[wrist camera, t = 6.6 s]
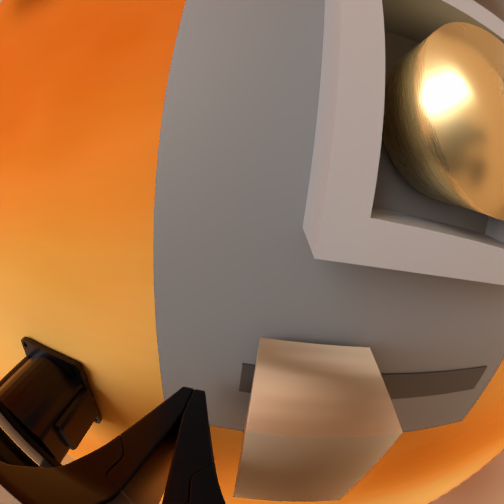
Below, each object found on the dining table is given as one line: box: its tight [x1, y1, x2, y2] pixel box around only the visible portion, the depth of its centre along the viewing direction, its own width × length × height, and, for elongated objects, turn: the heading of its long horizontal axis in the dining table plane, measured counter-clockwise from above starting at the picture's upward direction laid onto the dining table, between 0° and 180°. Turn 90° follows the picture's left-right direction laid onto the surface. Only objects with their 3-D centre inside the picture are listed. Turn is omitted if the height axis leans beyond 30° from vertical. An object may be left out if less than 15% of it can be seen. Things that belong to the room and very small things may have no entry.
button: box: [382, 22, 504, 220], centre depth 5 cm, size 5×5×3 cm
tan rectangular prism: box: [233, 337, 403, 501], centre depth 8 cm, size 4×5×4 cm
